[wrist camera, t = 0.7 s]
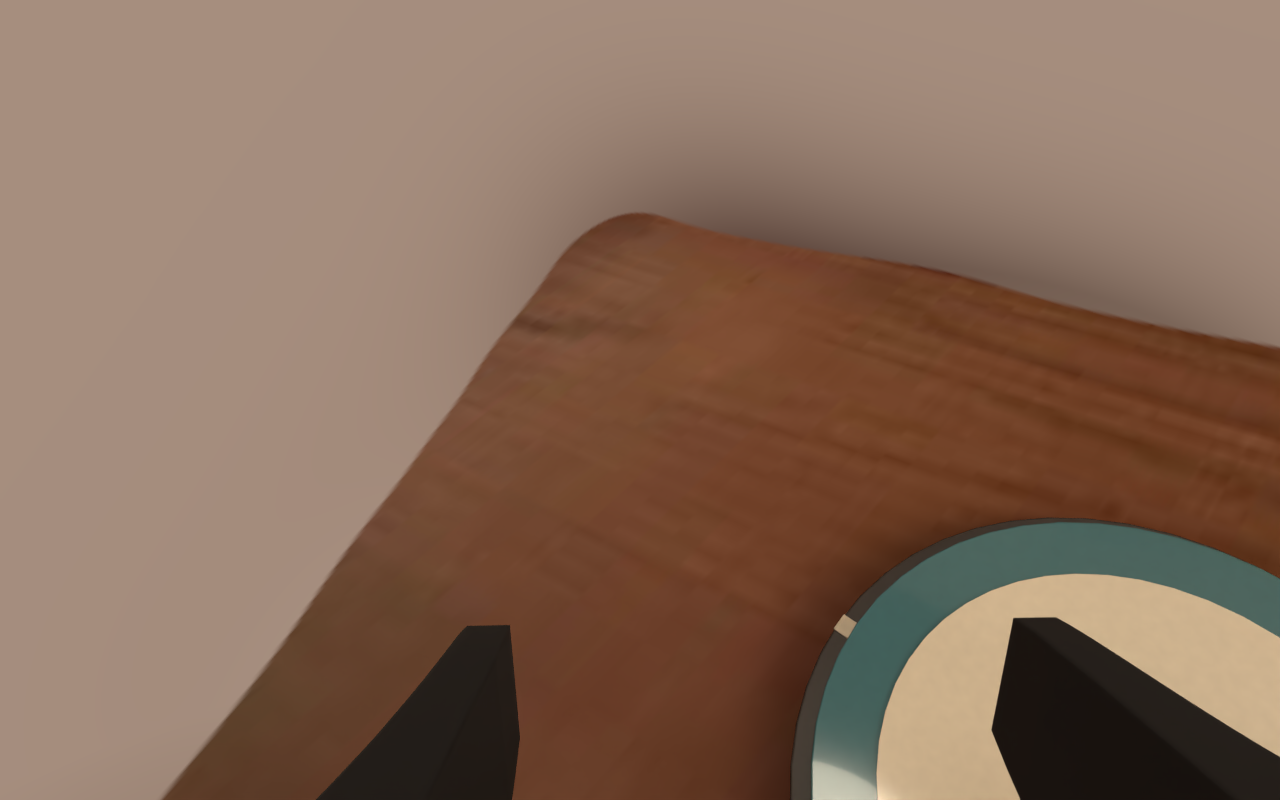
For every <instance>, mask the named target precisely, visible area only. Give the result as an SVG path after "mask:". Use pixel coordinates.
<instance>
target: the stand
mask: <svg viewBox="0 0 1280 800" xmlns="http://www.w3.org/2000/svg"><path fill="white" fill-rule="evenodd" d="M1055 522H1076V523H1101V524H1109V525H1117V526H1124V527H1132V528H1139V529H1143V530H1148V531H1152V532H1156V533H1161V534H1165V535H1169V536H1174V537H1178V538H1181V539H1184V540H1187V541H1190V542H1193V543H1196V544H1199V545H1202V546H1205V547H1208V548H1211V549H1215V548H1213V547H1210V546H1206V545H1203V544H1200V543H1197V542H1194V541H1191V540H1188V539H1185V538H1182V537H1179V536H1176V535H1173V534H1170V533H1166V532H1161V531H1157V530H1153V529H1148V528H1144V527H1140V526H1135V525H1131V524H1126V523H1118V522H1110V521H1102V520H1094V519H1084V518H1038V519H1027V520H1016V521H1008V522H1003V523H998V524H994V525H989V526H984V527H979V528H975V529H972V530H969V531H966V532H963V533H960V534H957V535H954V536H951V537H949V538H946V539H943V540H941V541H939V542H937V543H935V544H933V545H931V546H929V547H927V548H925V549H923V550H921V551H919V552H917V553H915V554H913V555H911V556H910V557H908V558H907V559H905V560H904V561H902V562H901V563H899V564H898V565H897V566H895V567H894V568H892V569H891V570H889V571H888V572H886V573H885V574H884V575H883V576H882V577H880V578H879V579H878V580H877V581H876V582H875V583H874V584H873V585H872V586H871V587H870V588H868V589H867V590H866V591H865V592H864V593H863V594H862V595H861V596H860V597H859V598H858V599H857V601H856V602H855V603H854V604H853V606H852V607H851V608H850V609H849V610H848V612H847V613H846V614H845V615H843V616H842V617H841V619H840V620H839V622H838V623H837V624H836V626H835V627H834V631H833V633H832V634H831V636H830V638H829V639H828V641H827V643H826V644H825V646H824V648H823V649H822V651H821V653H820V655H819V658H818V660H817V662H816V665H815V667H814V669H813V672H812V674H811V676H810V679H809V681H808V684H807V686H806V689H805V693H804V697H803V700H802V704H801V708H800V712H799V715H798V719H797V723H796V729H795V736H794V744H793V751H792V759H791V779H790V800H811V756H812V748H813V740H814V731H815V723H816V719H817V715H818V712H819V708H820V704H821V700H822V696H823V692H824V688H825V685H826V683H827V680H828V678H829V676H830V673H831V671H832V668H833V666H834V663H835V661H836V658H837V656H838V654H839V652H840V650H841V649H842V647H843V645H844V644H845V642H846V640H847V638H848V637H849V635H850V633H851V632H852V630H853V628H854V627H855V625H856V623H857V622H858V621H859V620H860V619H861V617H862V616H863V615H864V614H865V612H866V611H867V610H868V609H869V607H870V606H871V605H872V604H873V602H874V601H875V600H876V599H877V598H878V597H879V596H880V595H881V594H882V593H883V592H884V591H885V590H886V589H887V588H889V587H890V586H891V585H892V584H893V583H894V582H895V581H896V580H897V579H898V578H899V577H900V576H902V575H903V574H905V573H906V572H908V571H909V570H911V569H912V568H914V567H915V566H916V565H918V564H919V563H921V562H922V561H924V560H925V559H927V558H928V557H930V556H932V555H934V554H936V553H938V552H940V551H942V550H944V549H946V548H948V547H950V546H952V545H954V544H956V543H959V542H962V541H965V540H968V539H971V538H974V537H977V536H980V535H982V534H985V533H988V532H993V531H998V530H1003V529H1007V528H1012V527H1017V526H1022V525H1032V524H1043V523H1055ZM1215 550H1217V549H1215ZM1218 551H1220V550H1218ZM1221 552H1222V551H1221ZM1223 553H1224V552H1223ZM1225 554H1227V553H1225ZM1228 555H1229V554H1228ZM1230 556H1231V555H1230ZM1232 557H1233V556H1232ZM1234 558H1236V557H1234ZM1237 559H1238V558H1237ZM1239 560H1240V559H1239ZM1241 561H1243V560H1241ZM1244 562H1245V561H1244ZM1246 563H1247V562H1246ZM1248 564H1250V563H1248ZM1251 565H1252V564H1251ZM1253 566H1254V565H1253ZM1255 567H1257V566H1255ZM1258 568H1259V567H1258Z"/></svg>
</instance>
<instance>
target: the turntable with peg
mask: <svg viewBox="0 0 1280 800" xmlns="http://www.w3.org/2000/svg"><path fill="white" fill-rule="evenodd" d="M1033 617H1057V618H1059V619H1060V620H1062V621H1064V622H1066V623H1067V624H1069V625H1071V626H1073V627H1074V628H1076V629H1078V630H1079V631H1081V632H1083V633H1084V634H1086V635H1087V636H1089V637H1091V638H1092V639H1094V640H1095V641H1097V642H1098V643H1100V644H1102V645H1103V646H1105V647H1106V648H1108V649H1109V650H1111V651H1113V652H1114V653H1116V654H1117V655H1119V656H1120V657H1122V658H1123V659H1125V660H1126V661H1128V662H1130V663H1131V664H1133V665H1134V666H1136V667H1137V668H1139V669H1140V670H1142V671H1143V672H1145V673H1146V674H1148V675H1150V676H1151V677H1153V678H1154V679H1156V680H1157V681H1159V682H1160V683H1162V684H1163V685H1165V686H1167V687H1168V688H1170V689H1171V690H1173V691H1174V692H1176V693H1177V694H1179V695H1180V696H1182V697H1184V698H1185V699H1187V700H1188V701H1190V702H1191V703H1193V704H1195V705H1196V706H1198V707H1199V708H1201V709H1202V710H1204V711H1206V712H1207V713H1209V714H1210V715H1212V716H1214V717H1215V718H1217V719H1218V720H1220V721H1222V722H1223V723H1225V724H1226V725H1228V726H1230V727H1231V728H1233V729H1234V730H1236V731H1238V732H1239V733H1241V734H1243V735H1244V736H1246V737H1248V738H1249V739H1251V740H1252V741H1254V742H1256V743H1257V744H1259V745H1261V746H1262V747H1264V748H1266V749H1267V750H1269V751H1271V752H1273V753H1274V754H1276V755H1278V756H1279V757H1280V579H1279V578H1277V577H1276V576H1274V575H1272V574H1270V573H1268V572H1266V571H1264V570H1262V569H1260V568H1258V567H1255V566H1253V565H1251V564H1248V563H1246V562H1244V561H1241V560H1239V559H1237V558H1234V557H1232V556H1230V555H1228V554H1225V553H1223V552H1221V551H1218V550H1215V549H1211V548H1208V547H1205V546H1202V545H1199V544H1196V543H1193V542H1190V541H1187V540H1184V539H1181V538H1178V537H1174V536H1169V535H1165V534H1161V533H1156V532H1152V531H1148V530H1143V529H1139V528H1132V527H1124V526H1117V525H1109V524H1101V523H1076V522H1055V523H1043V524H1032V525H1022V526H1017V527H1012V528H1007V529H1003V530H998V531H993V532H988V533H985V534H982V535H980V536H977V537H974V538H971V539H968V540H965V541H962V542H959V543H956V544H954V545H952V546H950V547H948V548H946V549H944V550H942V551H940V552H938V553H936V554H934V555H932V556H930V557H928V558H927V559H925V560H924V561H922V562H921V563H919V564H918V565H916V566H915V567H914V568H912V569H911V570H909V571H908V572H906V573H905V574H903V575H902V576H900V577H899V578H898V579H897V580H896V581H895V582H894V583H893V584H892V585H891V586H890V587H889V588H887V589H886V590H885V591H884V592H883V593H882V594H881V595H880V596H879V597H878V598H877V599H876V600H875V601H874V602H873V604H872V605H871V606H870V607H869V609H868V610H867V611H866V612H865V614H864V615H863V616H862V617H861V619H860V620H859V621H858V622H857V623H856V625H855V627H854V628H853V630H852V632H851V633H850V635H849V637H848V638H847V640H846V642H845V644H844V645H843V647H842V649H841V650H840V652H839V654H838V656H837V658H836V661H835V663H834V666H833V668H832V671H831V673H830V676H829V678H828V680H827V683H826V685H825V688H824V692H823V696H822V700H821V704H820V708H819V712H818V715H817V719H816V723H815V731H814V740H813V748H812V756H811V800H1020V798H1019V795H1018V793H1017V791H1016V789H1015V786H1014V784H1013V782H1012V779H1011V777H1010V775H1009V773H1008V770H1007V768H1006V765H1005V763H1004V760H1003V758H1002V756H1001V753H1000V751H999V748H998V746H997V743H996V741H995V738H994V736H993V733H992V731H991V729H992V724H993V719H994V714H995V709H996V703H997V698H998V693H999V688H1000V683H1001V678H1002V673H1003V668H1004V663H1005V658H1006V653H1007V648H1008V642H1009V637H1010V632H1011V627H1012V622H1013V618H1033Z"/></svg>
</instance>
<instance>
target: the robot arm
mask: <svg viewBox="0 0 1280 800" xmlns="http://www.w3.org/2000/svg"><path fill="white" fill-rule="evenodd" d="M991 731H992V733H993V736H994V738H995V741H996V743H997V746H998V748H999V751H1000V753H1001V756H1002V758H1003V760H1004V763H1005V765H1006V768H1007V770H1008V773H1009V775H1010V777H1011V779H1012V782H1013V784H1014V786H1015V789H1016V791H1017V793H1018V795H1019V798H1020V800H1280V757H1279V756H1278V755H1276V754H1274V753H1273V752H1271V751H1269V750H1267V749H1266V748H1264V747H1262V746H1261V745H1259V744H1257V743H1256V742H1254V741H1252V740H1251V739H1249V738H1248V737H1246V736H1244V735H1243V734H1241V733H1239V732H1238V731H1236V730H1234V729H1233V728H1231V727H1230V726H1228V725H1226V724H1225V723H1223V722H1222V721H1220V720H1218V719H1217V718H1215V717H1214V716H1212V715H1210V714H1209V713H1207V712H1206V711H1204V710H1202V709H1201V708H1199V707H1198V706H1196V705H1195V704H1193V703H1191V702H1190V701H1188V700H1187V699H1185V698H1184V697H1182V696H1180V695H1179V694H1177V693H1176V692H1174V691H1173V690H1171V689H1170V688H1168V687H1167V686H1165V685H1163V684H1162V683H1160V682H1159V681H1157V680H1156V679H1154V678H1153V677H1151V676H1150V675H1148V674H1146V673H1145V672H1143V671H1142V670H1140V669H1139V668H1137V667H1136V666H1134V665H1133V664H1131V663H1130V662H1128V661H1126V660H1125V659H1123V658H1122V657H1120V656H1119V655H1117V654H1116V653H1114V652H1113V651H1111V650H1109V649H1108V648H1106V647H1105V646H1103V645H1102V644H1100V643H1098V642H1097V641H1095V640H1094V639H1092V638H1091V637H1089V636H1087V635H1086V634H1084V633H1083V632H1081V631H1079V630H1078V629H1076V628H1074V627H1073V626H1071V625H1069V624H1067V623H1066V622H1064V621H1062V620H1060V619H1059V618H1057V617H1033V618H1013V622H1012V627H1011V632H1010V637H1009V642H1008V648H1007V653H1006V658H1005V663H1004V668H1003V673H1002V678H1001V683H1000V688H999V693H998V698H997V703H996V709H995V714H994V719H993V724H992V729H991ZM519 740H520V733H519V722H518V711H517V700H516V689H515V678H514V667H513V656H512V645H511V633H510V625H496V626H467V627H466V628H465V629H464V630H463V631H461V632H460V634H459V635H458V636H457V637H456V639H455V640H454V641H453V643H452V644H451V645H450V647H449V648H448V649H447V650H446V652H445V653H444V654H443V656H442V657H441V658H440V659H439V661H438V662H437V663H436V665H435V666H434V667H433V668H432V670H431V671H430V672H429V673H428V675H427V676H426V677H425V678H424V680H423V681H422V682H421V683H420V685H419V686H418V687H417V688H416V690H415V691H414V692H413V693H412V694H411V696H410V697H409V698H408V699H407V700H406V702H405V703H404V704H403V705H402V706H401V707H400V709H399V710H398V711H397V712H396V713H395V714H394V716H393V717H392V718H391V719H390V720H389V721H388V723H387V724H386V725H385V726H384V727H383V728H382V730H381V731H380V732H379V733H378V734H377V735H376V736H375V738H374V739H373V740H372V741H371V742H370V743H369V744H368V745H367V746H366V748H365V749H364V750H363V751H362V752H361V753H360V754H359V755H358V756H357V757H356V758H355V759H354V760H353V761H352V762H351V763H350V765H349V766H348V767H347V768H346V769H345V770H344V771H343V772H342V773H341V774H340V775H339V776H338V777H337V778H336V779H335V780H334V781H333V783H332V784H331V785H330V786H329V787H328V788H327V789H326V790H325V791H324V792H323V793H322V794H321V795H320V796H319V797H318V798H317V799H316V800H512V795H513V788H514V780H515V773H516V764H517V756H518V748H519Z"/></svg>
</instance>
